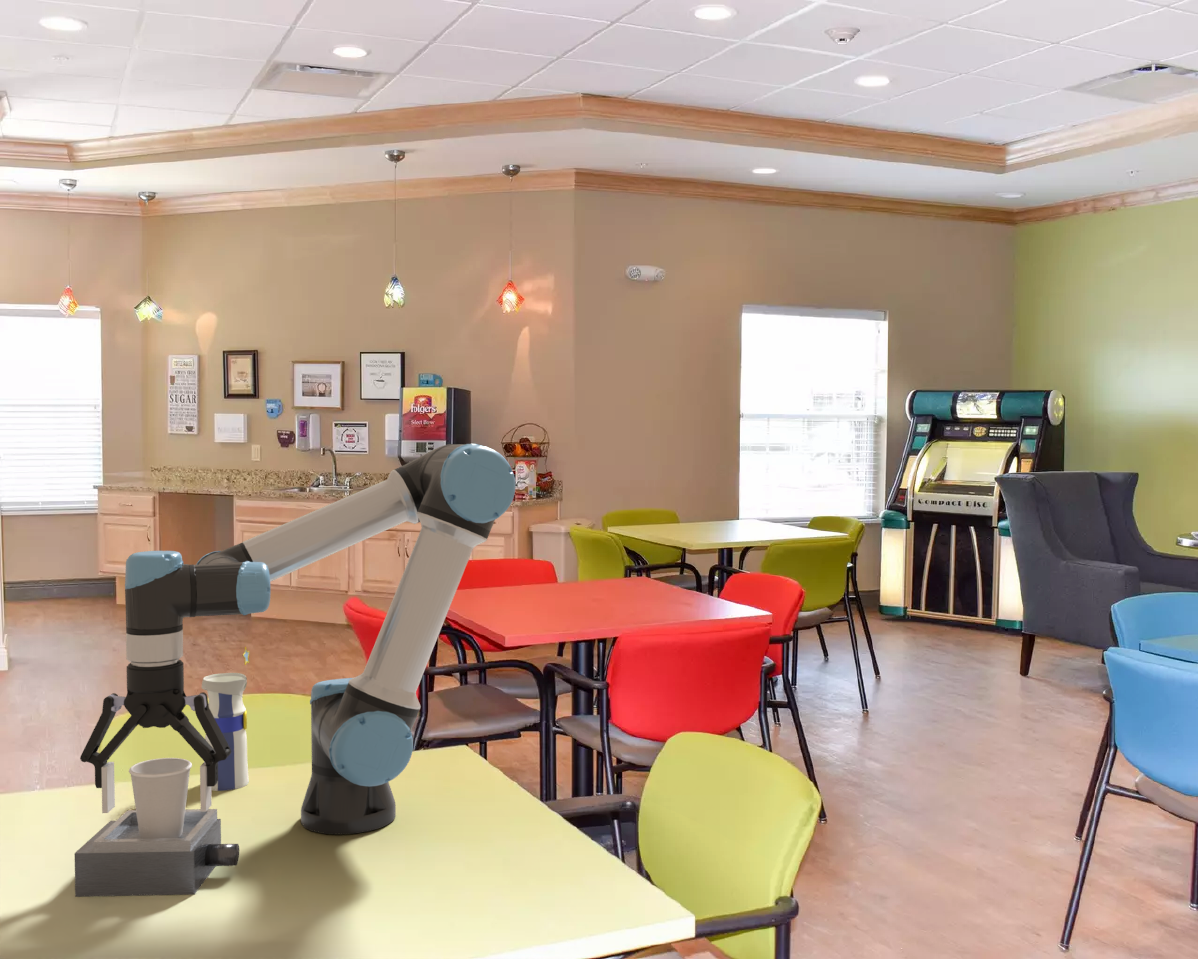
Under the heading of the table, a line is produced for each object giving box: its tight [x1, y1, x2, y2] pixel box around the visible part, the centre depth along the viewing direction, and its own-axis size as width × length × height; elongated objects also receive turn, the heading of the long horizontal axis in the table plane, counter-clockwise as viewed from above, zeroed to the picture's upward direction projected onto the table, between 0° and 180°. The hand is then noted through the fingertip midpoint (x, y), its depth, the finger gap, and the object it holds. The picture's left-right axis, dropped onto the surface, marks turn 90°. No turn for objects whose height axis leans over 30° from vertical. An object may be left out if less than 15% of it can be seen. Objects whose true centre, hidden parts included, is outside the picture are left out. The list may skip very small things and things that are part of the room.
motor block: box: [74, 808, 240, 898], centre depth 162 cm, size 20×13×8 cm, turn 93°
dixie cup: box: [128, 757, 193, 839], centre depth 162 cm, size 8×8×10 cm
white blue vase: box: [201, 646, 250, 792], centre depth 204 cm, size 8×9×25 cm
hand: (157, 809), depth 162 cm, fingers open, 13 cm apart
